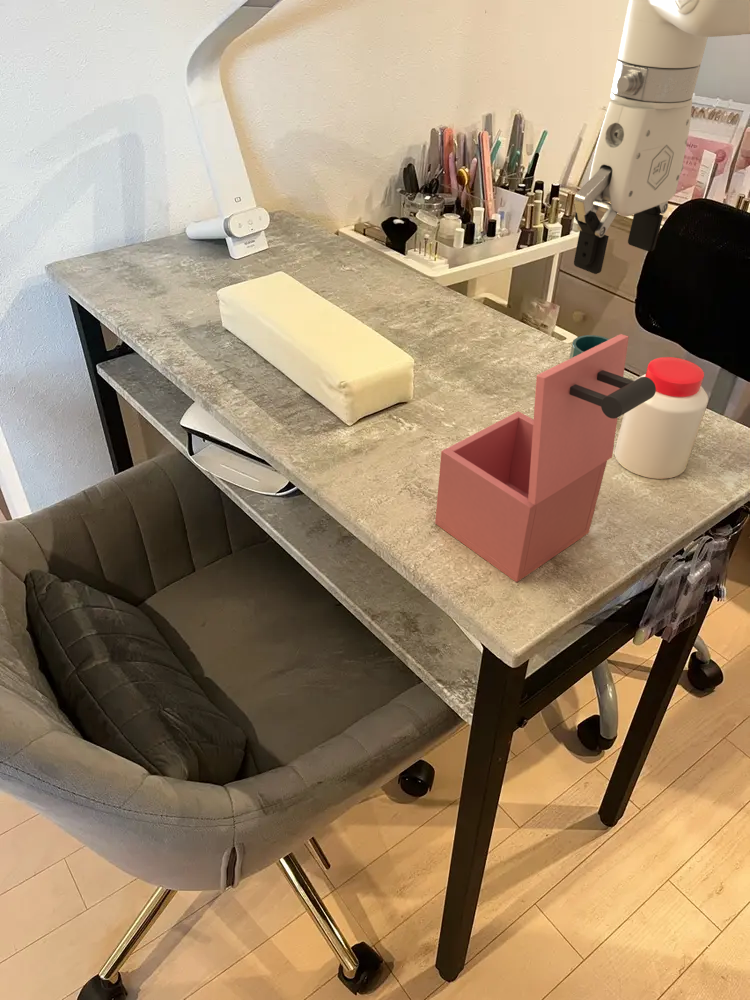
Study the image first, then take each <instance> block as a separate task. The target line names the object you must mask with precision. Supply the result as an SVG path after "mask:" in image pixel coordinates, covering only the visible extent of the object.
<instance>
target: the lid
mask: <svg viewBox="0 0 750 1000" xmlns="http://www.w3.org/2000/svg"><path fill="white" fill-rule="evenodd" d="M629 338H630V337H629V335H626V334H622V333H619V334H617V335H616V336H614V337H612V338H609V339H610V340H608V341H605V342H603V343H601V344H599V345H597V346H595V347H593V348H591V349H589V350H587V351H585V352H583V353H581V354H579V355H577V356H575V357H573V358H571V359H569V358H568V359H566V360H565V361H562V362H561V363H558V364H557V365H554V366H553V367H550V368H548V369H546V370H544V371H542V372H540V373H538V374H537V375H536V377H535V378H536V380H535V392H534V393H535V395H534V396H535V397H534V410H533V420H534V421H533V436H532V451H531V465H530V480H529V494H528V502H530V503H532V504H534V505H536V504H538V503H540V502H541V501H543V500H544V499H546V498H548V497H549V496H551V495H552V494H554V493H556V492H557V491H559V490H560V489H562V488H564V487H565V486H567V485H568V484H570V483H572V482H573V481H575V480H577V479H578V478H580V477H581V476H583V475H585V474H586V473H588V472H589V471H591V470H593V469H594V468H596V467H597V466H599V465H601V464H602V463H604V462H605V461H607V462H608V461H609V460H610V459H613V454H614V448H615V438H616V433H617V425H618V418H619V417H622V416H623V415H624V414H625V413H626V412H628V411H630V410H632V409H633V408H635V407H637V406H638V405H640V404H642V403H644V402H645V401H647V400H649V399H651V398H652V397H653V396H654V395H655V392H656V387H655V384H654V382H653V381H652V380H651V379H650V378H647V377H640V376H639V377H640V378H638V377H637V378H638V379H637V378H636V379H637V380H635V379H630V378H627V377H624V375H625V366H626V360H627V353H628V345H629ZM634 380H635V381H634Z"/></svg>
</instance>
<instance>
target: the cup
mask: <svg viewBox="0 0 750 1000" xmlns="http://www.w3.org/2000/svg"><path fill="white" fill-rule="evenodd" d="M610 339H611V338H608V337H606V336H602V335H595V334H584V335H580V336H577V337H576V338H574V339H573V340H572V344H571V348H570V354H569V358H568V360H569V359H571V358H573V357H575V356H577V355H579V354H581V353H583V352H585V351H587V350H589V349H591V348H593V347H595V346H597V345H599V344H601V343H603V342H605V341H608V340H610Z"/></svg>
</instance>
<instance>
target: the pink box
mask: <svg viewBox="0 0 750 1000" xmlns="http://www.w3.org/2000/svg"><path fill="white" fill-rule="evenodd" d="M533 421H534V418H532V417H530V416H528V415H526V414H525V413H523V412H521V411H519V410H517V411H515V412H514V413H512V414H510V415H508V416H506V417H504V418H502V419H500V420H498V421H496V422H495V423H493V424H491V425H488V426H486V427H485V428H483V429H481V430H479V431H478V432H475V433H473V434H470V436H467V437H466V438H464V439H461V440H460V441H458V442H456V443H454V444H452V445H450V446H448V447H446V448H444V449H442V450H441V451H440V461H439V462H440V463H439V473H438V485H437V497H436V498H437V499H436V510H435V521H434V523H435V525H436V526H438V527H439V528H441V529H442V530H444V532H446V533H447V534H448V535H451V536H452V537H453V538H454V539H456V540H457V541H458V542H460V543H462V544H463V545H464V546H465V547H466V548H468V549H469V550H471V551H472V552H474V554H476V555H478V556H479V557H481V558H482V559H483V560H484V561H486V562H487V563H488V564H490V565H491V566H493V567H494V568H496V569H498V570H499V571H500V572H501V573H503V574H504V575H505V576H507V577H508V578H510V579H511V580H512V581H514V582H515V583H518V582H520V581H521V580H523V579H524V578H526V577H527V576H528V575H530V574H531V573H533V572H534V571H536V570H537V569H539V568H540V567H542V566H543V565H545V564H546V563H547V562H549V561H551V560H552V559H553V558H555V557H556V556H557V555H560V553H562V552H564V551H565V550H566V549H568V548H569V547H570V546H571V547H572V545H573V544H575V543H576V542H578V541H579V540H581V539H582V538H584V537H586V536H587V535H588V534H589V533H590V530H591V526H592V521H593V518H594V513H595V509H596V506H597V503H598V498H599V494H600V490H601V486H602V482H603V478H604V474H605V471H606V467H607V464H608V460H607V461H605V462H604V463H602V464H601V465H599V466H597V467H596V468H594V469H593V470H591V471H589V472H588V473H586V474H585V475H583V476H581V477H580V478H578V479H577V480H575V481H573V482H572V483H570V484H568V485H567V486H565V487H564V488H562V489H560V490H559V491H557V492H556V493H554V494H552V495H551V496H549V497H548V498H546V499H544V500H543V501H541V502H540V503H538V504H536V505H534V504H532V503H530V502H528V494H529V480H530V465H531V451H532V436H533Z"/></svg>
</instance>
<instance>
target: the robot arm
mask: <svg viewBox="0 0 750 1000" xmlns="http://www.w3.org/2000/svg"><path fill="white" fill-rule="evenodd" d="M627 3H628V4H627V8H626V12H625V17H624V18H625V19H624V23H623V29H622V33H621V38H620V42H619V43H620V44H619V49H618V54H617V59H616V64H615V69H614V75H613V78H612V79H613V80H612V83H611V84H612V85H611V89H610V95H609V98H610V99H611V100H610V101H609V103H608V107H607V109H606V112H605V114H604V118H603V122H602V124H601V128H600V132H599V136H598V139H597V143H596V146H595V150H594V155H593V157H592V163H591V168H590V173H589V178H588V181H587V182H586V183H585V184H584V185H583V186H582V187H580V189H579V190H578V191H577V192H576V193H575V195H574V198H573V202H574V203H573V204H574V208H575V215H574V218H575V221H576V223H577V225H576V227H577V228H576V229H577V230H578V231H579V233H578V238H577V244H576V249H575V254H574V258H573V265H574V266H575V267H576V268H578V269H581V270H583V271H586V272H589V273H592V274H594V275H598V274H600V273H601V272H602V269H603V265H604V260H605V256H606V251H607V247H608V242H609V235H606V233H607V231H608V229H609V228H610V226H611V224H613V221H614V220H615V218H616V217H617V215H619V216H620V217H630V216H633V217H632V221H631V227H630V230H629V233H628V238H627V244H628V245H629V246H632V247H634V248H637V249H640V250H643V251H645V252H649V253H650V252H653V251H654V250H656V245H657V242H658V241H657V240H658V237H659V233H660V230H661V226H662V222H663V218H664V214H665V213H666V212H667V211H668V208H669V201H670V200H671V199H672V198H673V197H674V196H675V194H676V193H677V189H678V185H679V181H680V177H681V174H682V172H683V169H684V160H685V155H686V150H687V145H688V139H689V133H690V127H691V121H692V120H691V119H692V109H693V96H694V93H695V89H696V85H697V81H698V77H699V73H700V69H701V64H702V61H703V57H704V54H705V50H706V46H707V42H708V38H710V37H711V38H712V37H713V38H714V37H715V38H716V37H733V36H742V35H750V0H628V1H627ZM598 211H599V212H602V213H604V214H603V216H602V217H601V219H599V217H598V214H597V212H598Z"/></svg>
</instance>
